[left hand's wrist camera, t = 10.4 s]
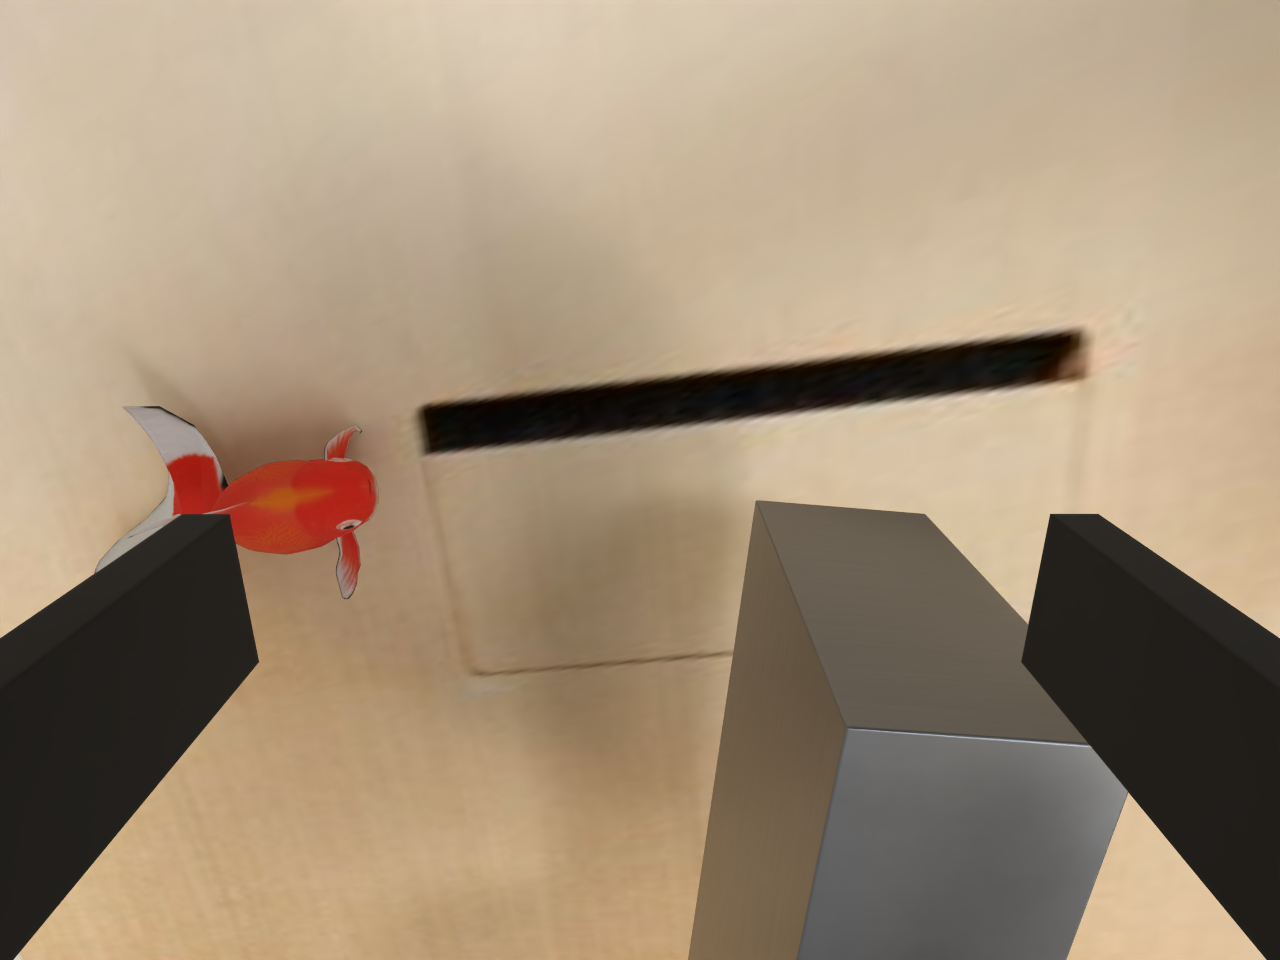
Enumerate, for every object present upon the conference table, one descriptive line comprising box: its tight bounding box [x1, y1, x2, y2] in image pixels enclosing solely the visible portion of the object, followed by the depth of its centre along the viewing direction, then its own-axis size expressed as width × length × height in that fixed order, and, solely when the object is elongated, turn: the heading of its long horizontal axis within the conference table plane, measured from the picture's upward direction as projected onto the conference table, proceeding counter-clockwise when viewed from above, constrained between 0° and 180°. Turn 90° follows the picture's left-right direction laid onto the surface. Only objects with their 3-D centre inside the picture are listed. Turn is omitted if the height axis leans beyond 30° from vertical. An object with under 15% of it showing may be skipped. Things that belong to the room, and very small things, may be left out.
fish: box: [94, 406, 379, 599], centre depth 35 cm, size 11×16×10 cm
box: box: [688, 500, 1128, 960], centre depth 25 cm, size 25×6×12 cm, turn 175°
